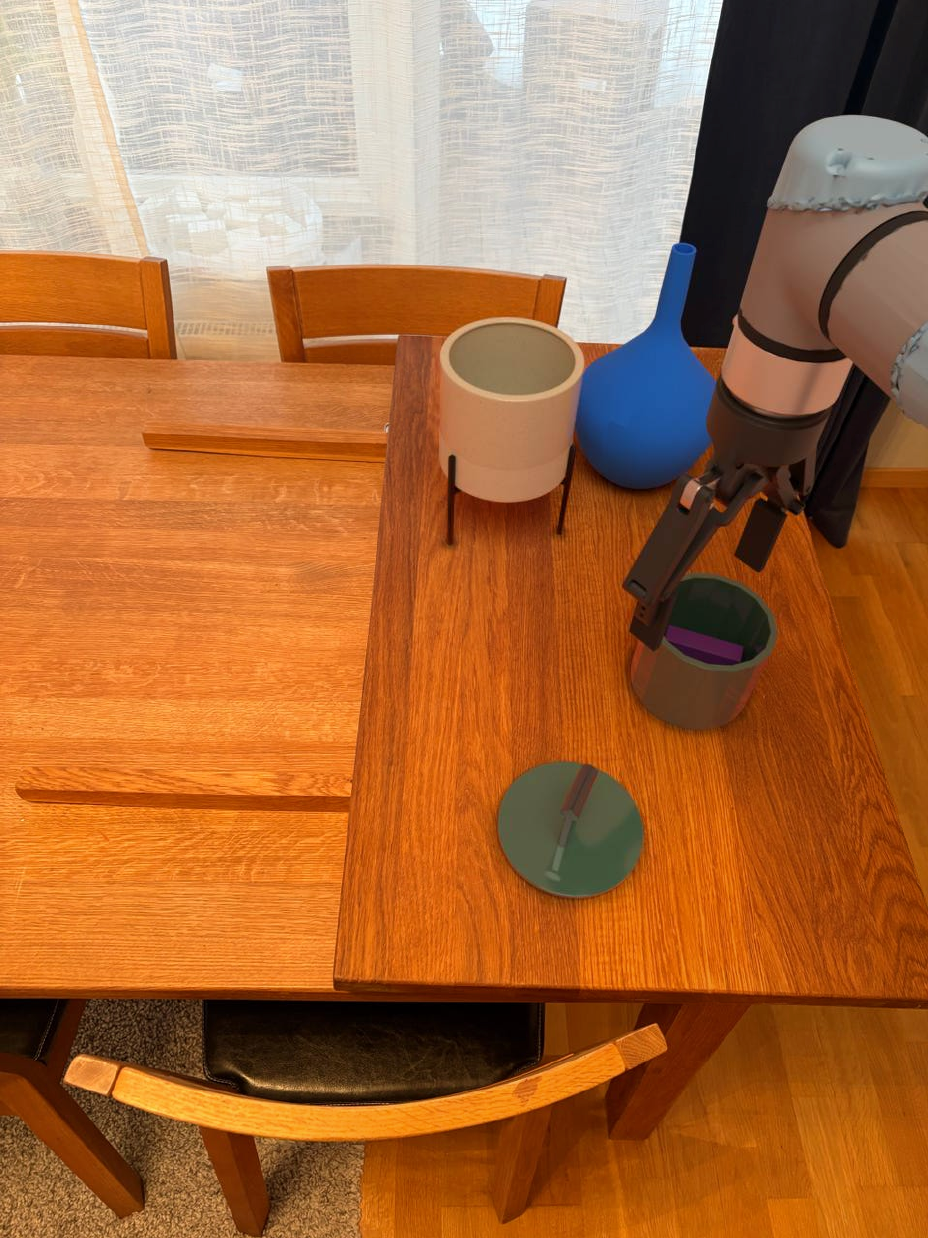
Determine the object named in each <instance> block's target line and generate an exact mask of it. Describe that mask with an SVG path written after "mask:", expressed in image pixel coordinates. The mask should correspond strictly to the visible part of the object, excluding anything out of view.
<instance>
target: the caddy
mask: <svg viewBox="0 0 928 1238" xmlns="http://www.w3.org/2000/svg"><path fill="white" fill-rule="evenodd" d="M673 591H675V592H676V593H677V594H678V595H677V598H676V601H675V604H674V607H673V610H672V613H671V616H670V619H669V622H668V625H672V626H675V627H679V628H682V629H685V630H689V631H692V632H696V633H699V634H703V635H706V636H710V637H713V638H717V639H720V640H723V641H727V642H730V643H734V644H737V645H741V646H743V652H742V657H741V662H740V663H739V664H736V665H732V666H728V665H714V664H706V663H704V662H701V661H699V660H696V659H693V658H691V657H688V656H686V655H684V654H683V653H682V652H680V651H679V650H678V649H677V648H675V647H674V646H673V645H672V644H670V643H669V642H668V641H667V640H666V638H665V634H666V631H667V628H668V625H667V628H666V630H665V633H664V636H663V639H662V642H661V645H660V647H659V648H658V649H657V650H655V651H654V652H653V651H652V650H651V649H650V648H649V647H647V646H646V645H645V644H644V643H642V642H641V641H640V640H639V639H637V642H636V646H635V650H634V653H633V656H632V660H631V663H630V682H631V686H632V690H633V692H634V694H635V696H636V698H637V699H638V701H639V702H640V703H641V704H642V706H643V707H644V708H645V709H646V710H647V711H648V712H649V713H650V714H652V715H653V716H654V717H656V718H657V719H659V720H660V721H662V722H663V723H666V724H669V725H671V726H674V727H677V728H680V729H683V730H689V731H708V730H709V731H710V730H713V729H717V728H720V727H723V726H725V725H727V724H729V723H730V722H732V721H733V720H735V718H736V717H738V716H739V714H740V713H741V712H742V711H743V710H744V708H745V706H746V704H747V702H748V701H749V698H750V696H751V694H752V693H753V691H754V689H755V687H756V685H757V683H758V681H759V679H760V676H761V675H762V673H763V671H764V669H765V667H766V665H767V663H768V661H769V659H770V658H771V655H772V653H773V650H774V648H775V645H776V642H777V638H778V636H779V632H778V628H777V623H776V622H777V621H776V618H775V614H774V612H773V611H772V610H771V609H770V607H769V606H768V604H767V602H766V601H765V600H764V599H763V597H761V595H759V594H758V593H756V592H755V591H754V590H752V589H751V588H750V587H748V586H747V585H746V584H744V583H742V582H740V581H738V580H735V579H733V578H729V577H726V576H723V575H721V574H718V573H707V572H689V573H686V574H685V575H684V577H683V578H682V579H681V581H680V582H679V583H678V585H677V586H676V588H675V589H674V590H673Z"/></svg>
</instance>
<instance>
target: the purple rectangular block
mask: <svg viewBox="0 0 928 1238" xmlns="http://www.w3.org/2000/svg"><path fill="white" fill-rule="evenodd" d="M665 638H666V640H667V641H668V642H669V643H670V644H672V645H673V646H674V647H675V648H677V649H678V650H679V651H680V652H682V653H683V654H684V655H686V656H688V657H691V658H693V659H696V660H699V661H701V662H704V663H706V664H714V665H728V666H732V665H736V664H739V663H740V662H741V657H742V652H743V646H741V645H737V644H734V643H730V642H727V641H723V640H720V639H717V638H713V637H710V636H706V635H703V634H699V633H696V632H692V631H689V630H685V629H682V628H679V627H675V626H672V625H668V628H667V631H666V634H665Z"/></svg>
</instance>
